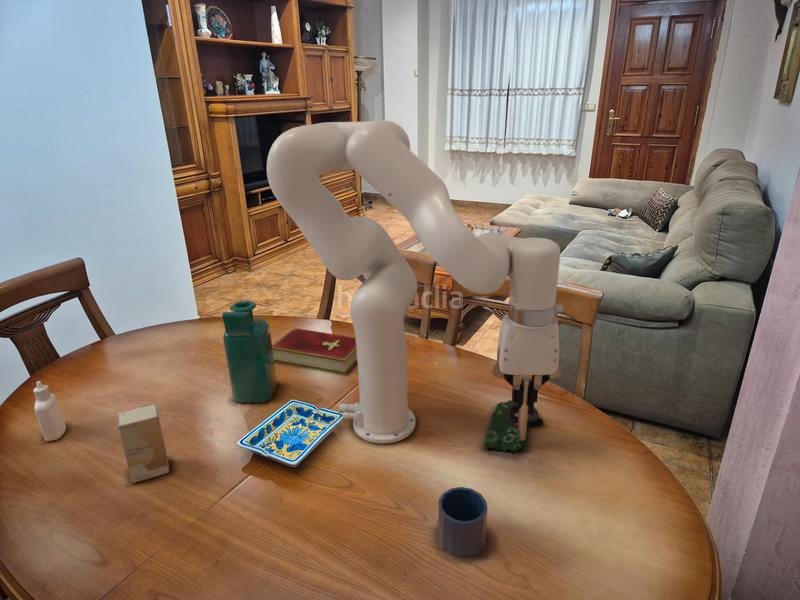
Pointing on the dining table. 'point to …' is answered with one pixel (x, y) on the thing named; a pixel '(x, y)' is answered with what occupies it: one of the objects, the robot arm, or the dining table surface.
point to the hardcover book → (316, 350)
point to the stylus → (523, 408)
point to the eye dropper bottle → (48, 413)
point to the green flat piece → (508, 428)
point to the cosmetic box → (143, 443)
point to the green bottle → (249, 354)
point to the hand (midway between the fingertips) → (523, 404)
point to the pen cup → (462, 522)
